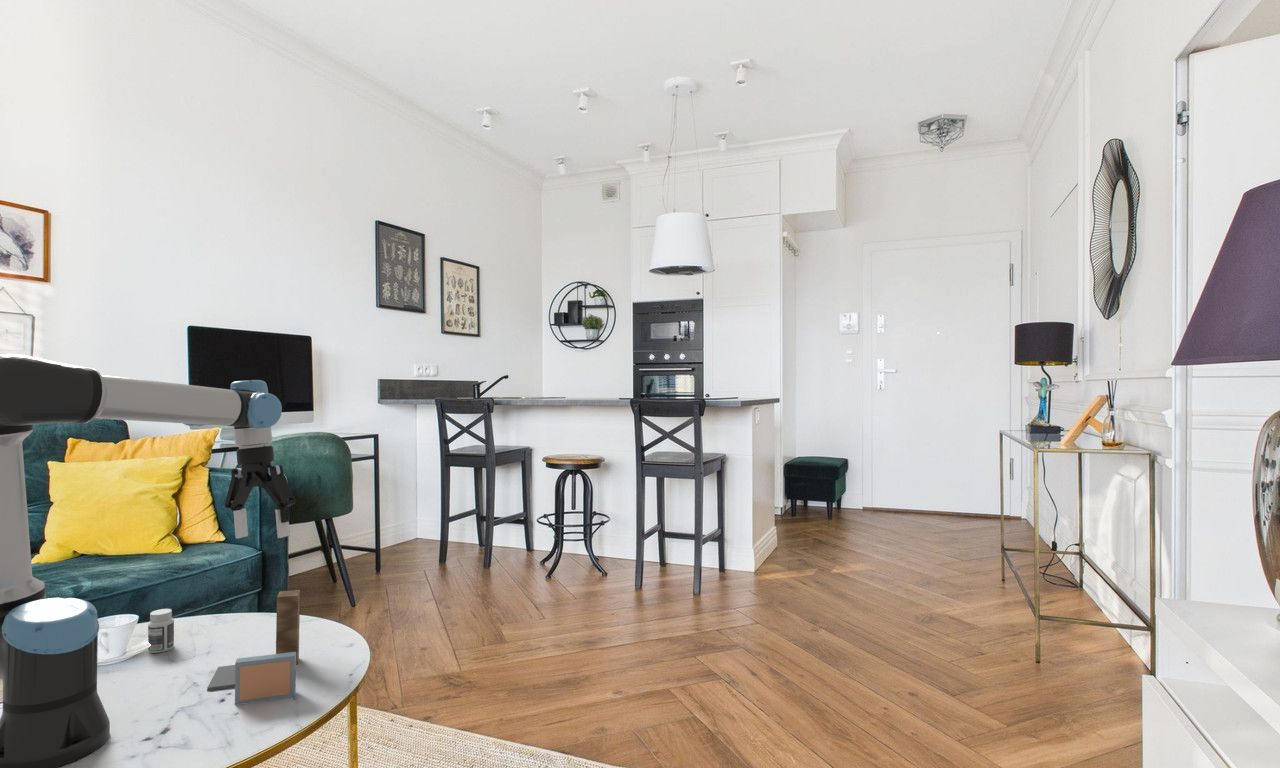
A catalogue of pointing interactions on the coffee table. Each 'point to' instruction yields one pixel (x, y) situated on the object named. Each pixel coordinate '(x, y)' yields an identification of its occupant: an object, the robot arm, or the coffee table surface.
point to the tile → (265, 678)
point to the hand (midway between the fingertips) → (262, 537)
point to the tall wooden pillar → (288, 622)
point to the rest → (223, 678)
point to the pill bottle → (161, 631)
